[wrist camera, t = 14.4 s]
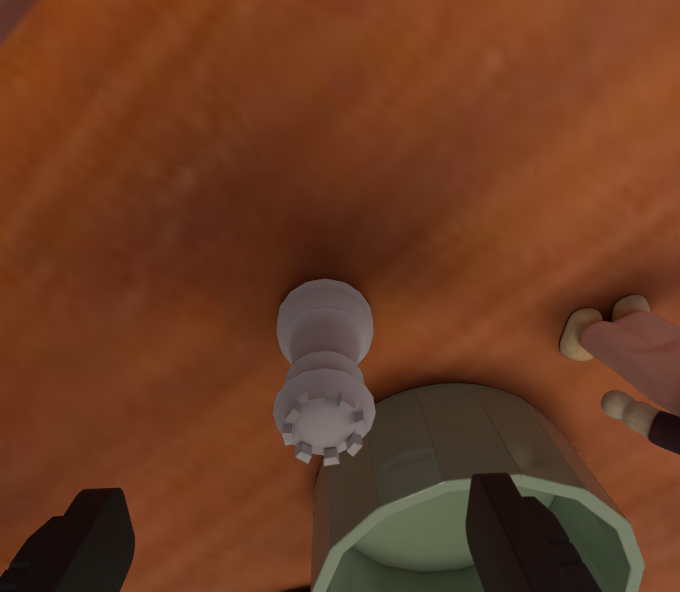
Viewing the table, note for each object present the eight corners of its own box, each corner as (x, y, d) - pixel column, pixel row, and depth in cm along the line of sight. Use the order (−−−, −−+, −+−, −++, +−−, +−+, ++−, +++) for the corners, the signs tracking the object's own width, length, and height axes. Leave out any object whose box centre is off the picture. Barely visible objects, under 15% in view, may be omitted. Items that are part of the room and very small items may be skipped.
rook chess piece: (279, 360, 21) (252, 490, 13) (276, 274, 19) (244, 367, 12) (369, 361, 21) (393, 489, 14) (374, 275, 19) (404, 368, 12)
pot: (265, 503, 24) (246, 622, 18) (441, 331, 20) (487, 412, 15) (440, 603, 28) (469, 728, 22) (616, 473, 24) (707, 583, 18)
